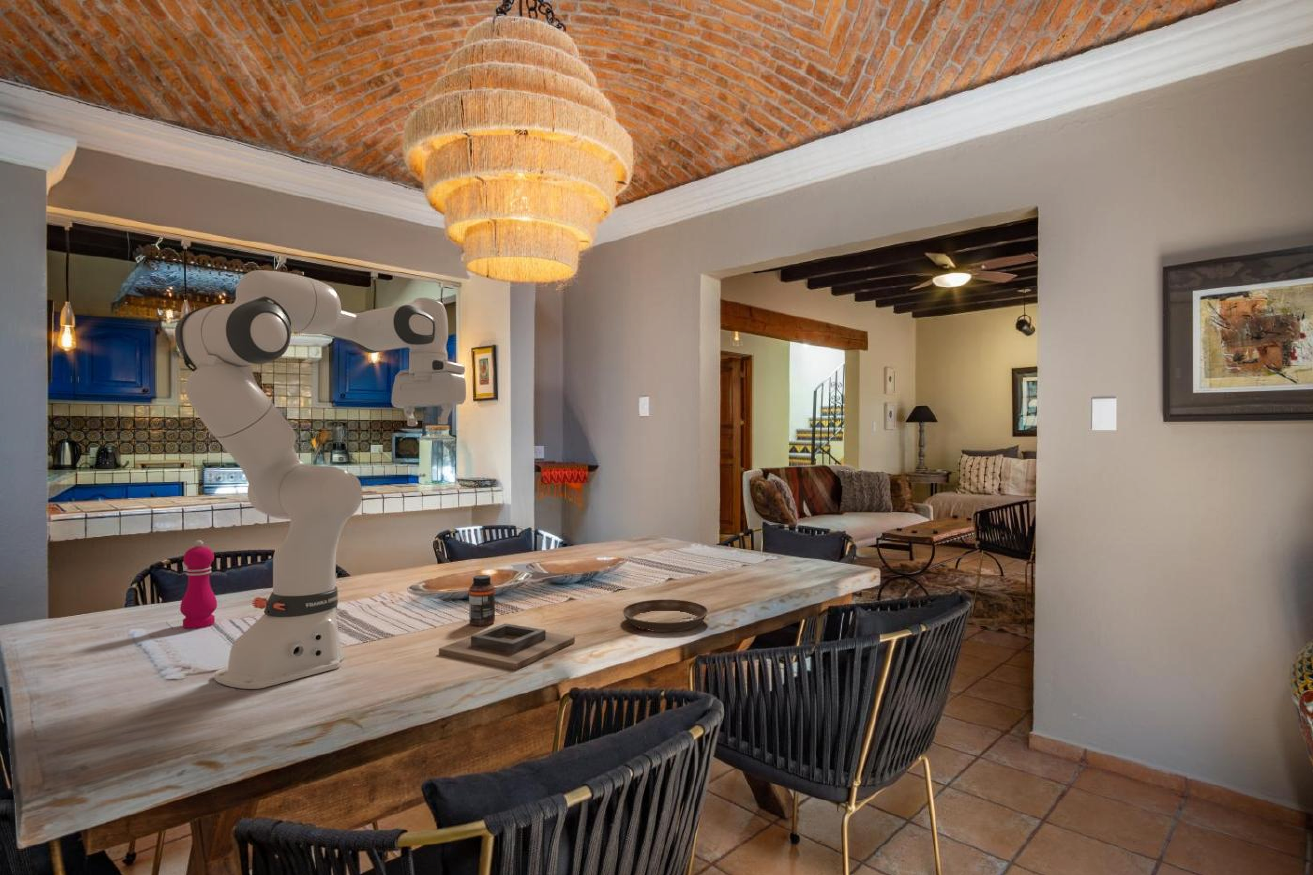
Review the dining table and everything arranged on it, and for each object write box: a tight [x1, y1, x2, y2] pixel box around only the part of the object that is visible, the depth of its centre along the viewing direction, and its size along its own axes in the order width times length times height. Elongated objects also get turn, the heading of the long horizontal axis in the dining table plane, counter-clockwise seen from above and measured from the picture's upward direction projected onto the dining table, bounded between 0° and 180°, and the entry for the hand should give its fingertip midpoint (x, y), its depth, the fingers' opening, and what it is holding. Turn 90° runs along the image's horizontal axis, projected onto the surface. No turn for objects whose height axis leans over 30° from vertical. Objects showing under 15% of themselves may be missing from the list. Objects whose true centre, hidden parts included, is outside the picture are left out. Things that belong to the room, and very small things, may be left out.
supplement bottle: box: [468, 574, 496, 627], centre depth 166 cm, size 6×6×11 cm
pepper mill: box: [179, 539, 218, 629], centre depth 163 cm, size 7×7×20 cm
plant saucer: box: [622, 599, 709, 633], centre depth 168 cm, size 21×21×3 cm
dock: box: [438, 623, 576, 671], centre depth 147 cm, size 20×20×3 cm
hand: (427, 425), depth 165 cm, fingers open, 8 cm apart
